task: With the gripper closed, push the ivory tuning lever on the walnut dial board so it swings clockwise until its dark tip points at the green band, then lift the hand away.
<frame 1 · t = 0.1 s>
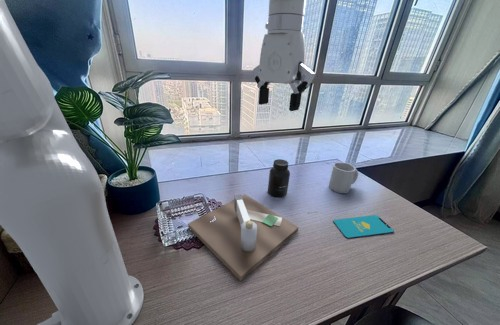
hand: (277, 106, 53), 31 cm above the table, tool pointing down, fingers open, 9 cm apart
smartphone: (362, 228, 61), on the table
cup: (342, 188, 79), on the table
tuning lever: (243, 219, 53), point 5 cm above the table, hinge at 60.0°
dial board: (243, 229, 57), on the table
supplement bottle: (277, 193, 74), on the table
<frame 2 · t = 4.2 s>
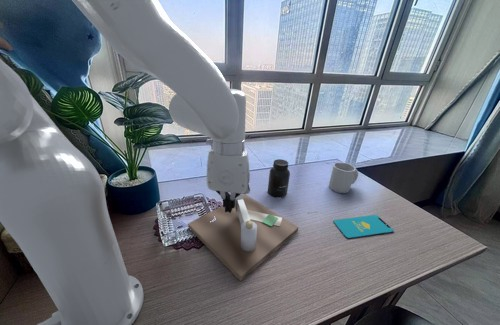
hand: (229, 209, 57), 5 cm above the table, tool pointing down, fingers closed
tuning lever: (244, 219, 53), point 5 cm above the table, hinge at 58.7°, touching gripper
everything else where it was.
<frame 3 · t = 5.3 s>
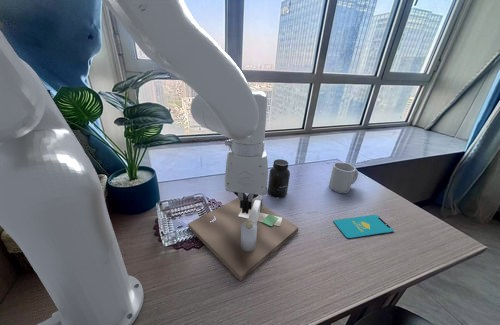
hand: (245, 210, 57), 5 cm above the table, tool pointing down, fingers closed
tuning lever: (253, 219, 53), point 5 cm above the table, hinge at 32.3°, touching gripper
everything else where it was.
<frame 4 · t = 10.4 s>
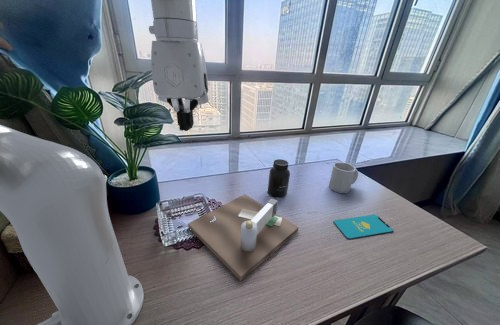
hand: (186, 128, 47), 27 cm above the table, tool pointing down, fingers closed
tuning lever: (260, 221, 53), point 5 cm above the table, hinge at 12.5°
everything else where it was.
at the end: tuning lever at +12° (first picture: +60°) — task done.
